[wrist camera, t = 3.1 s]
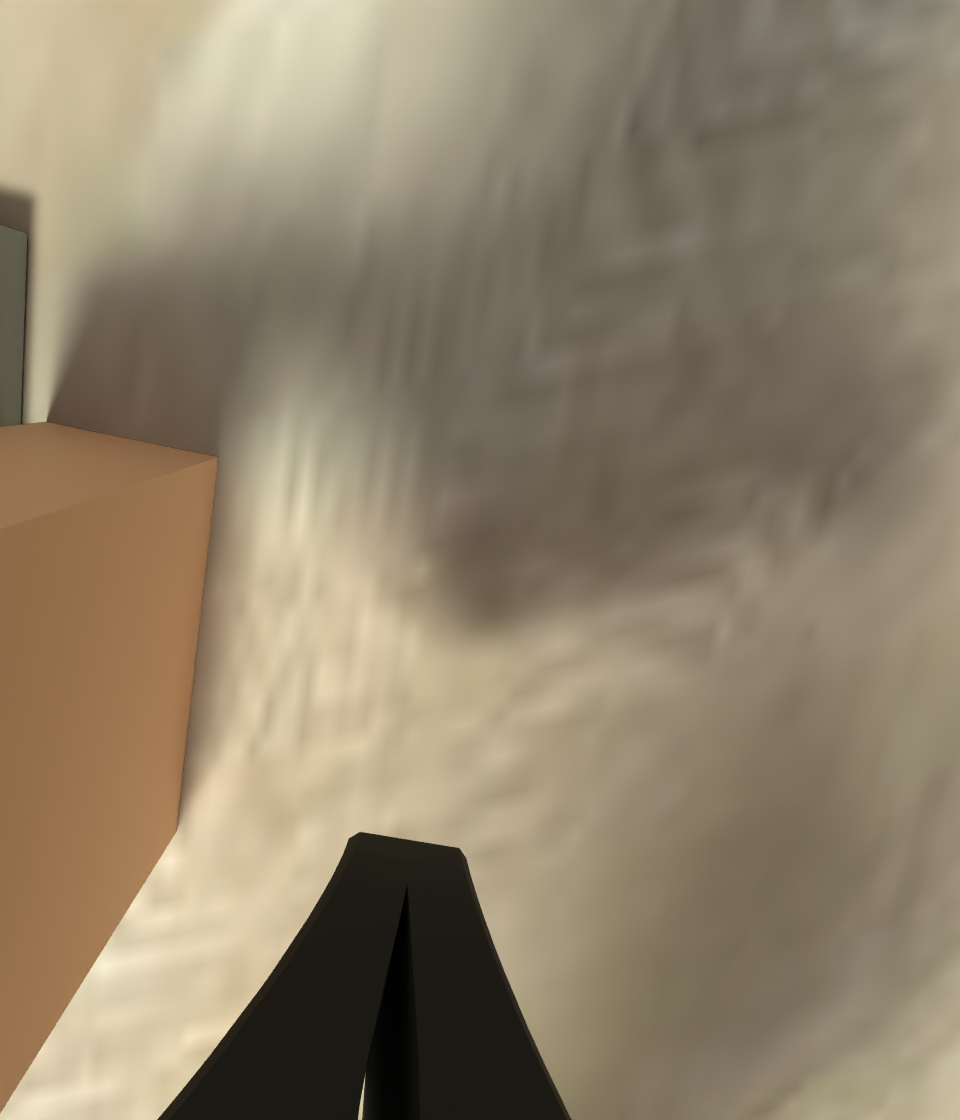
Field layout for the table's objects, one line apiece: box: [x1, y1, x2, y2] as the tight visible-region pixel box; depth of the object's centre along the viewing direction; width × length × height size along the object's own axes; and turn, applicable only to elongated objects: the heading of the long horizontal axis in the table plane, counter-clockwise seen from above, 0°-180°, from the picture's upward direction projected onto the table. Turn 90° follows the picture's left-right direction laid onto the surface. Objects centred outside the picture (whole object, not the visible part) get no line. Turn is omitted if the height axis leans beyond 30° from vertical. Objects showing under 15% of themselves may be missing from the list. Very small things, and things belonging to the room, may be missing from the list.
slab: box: [0, 422, 218, 1113], centre depth 10 cm, size 3×8×6 cm, turn 168°
